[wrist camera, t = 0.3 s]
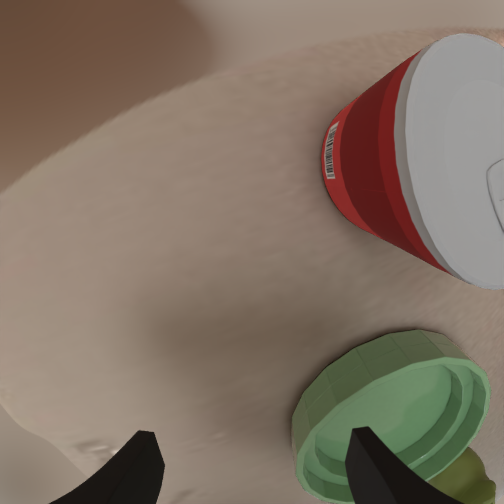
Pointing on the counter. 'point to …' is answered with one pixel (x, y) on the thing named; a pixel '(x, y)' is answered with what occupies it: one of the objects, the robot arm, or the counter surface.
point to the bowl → (389, 409)
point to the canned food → (429, 158)
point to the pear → (466, 480)
